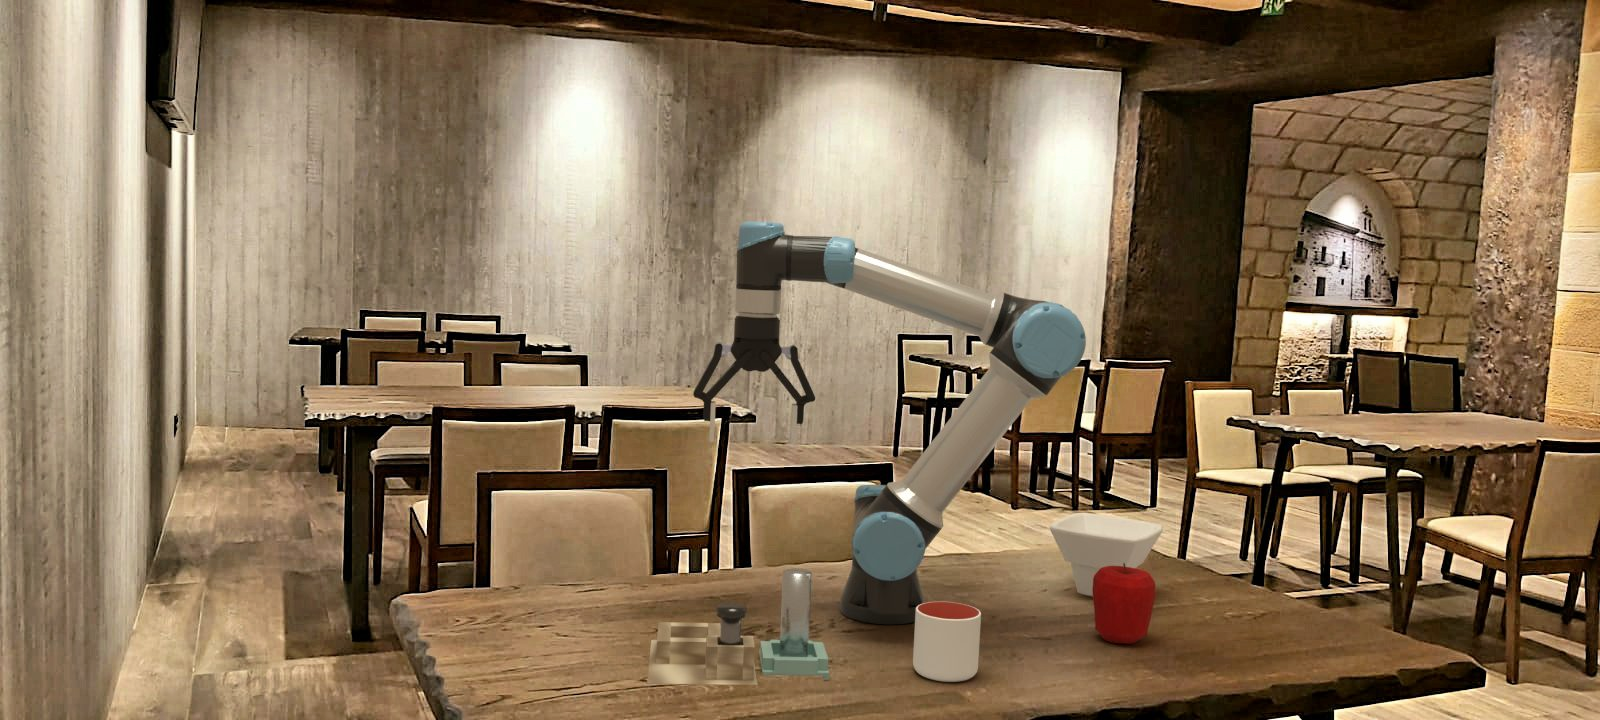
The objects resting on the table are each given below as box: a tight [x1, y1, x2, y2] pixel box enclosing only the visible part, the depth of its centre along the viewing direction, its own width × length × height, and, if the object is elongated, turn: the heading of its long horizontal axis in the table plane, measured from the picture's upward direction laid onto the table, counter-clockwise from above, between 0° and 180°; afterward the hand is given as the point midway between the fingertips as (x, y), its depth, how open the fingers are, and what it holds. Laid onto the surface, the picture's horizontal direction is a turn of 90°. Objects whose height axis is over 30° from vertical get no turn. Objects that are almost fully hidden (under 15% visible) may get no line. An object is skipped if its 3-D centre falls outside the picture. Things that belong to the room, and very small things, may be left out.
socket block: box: [646, 621, 758, 686], centre depth 196 cm, size 16×20×6 cm
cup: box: [912, 601, 982, 683], centre depth 198 cm, size 10×10×10 cm
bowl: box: [1049, 512, 1164, 597], centre depth 247 cm, size 19×19×14 cm
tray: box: [758, 639, 830, 681], centre depth 197 cm, size 10×10×3 cm
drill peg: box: [779, 567, 813, 657], centre depth 196 cm, size 4×4×14 cm
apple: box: [1092, 563, 1156, 644], centre depth 218 cm, size 10×10×14 cm
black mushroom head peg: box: [716, 602, 747, 645], centre depth 190 cm, size 4×4×9 cm
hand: (752, 442), depth 214 cm, fingers open, 13 cm apart
